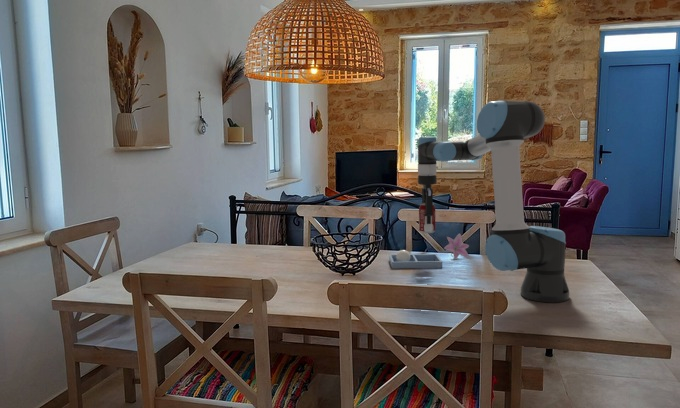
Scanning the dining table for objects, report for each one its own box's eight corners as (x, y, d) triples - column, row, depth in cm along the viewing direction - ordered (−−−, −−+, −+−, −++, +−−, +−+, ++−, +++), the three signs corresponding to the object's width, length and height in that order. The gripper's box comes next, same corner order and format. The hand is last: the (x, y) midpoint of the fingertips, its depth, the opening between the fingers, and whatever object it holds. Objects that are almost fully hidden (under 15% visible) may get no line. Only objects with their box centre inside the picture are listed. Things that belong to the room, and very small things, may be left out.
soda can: (435, 233, 214) (435, 204, 213) (418, 233, 215) (418, 204, 214) (435, 230, 221) (435, 202, 219) (419, 230, 222) (419, 202, 220)
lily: (439, 261, 230) (447, 244, 225) (439, 245, 240) (446, 229, 235) (465, 269, 230) (473, 252, 225) (464, 253, 240) (472, 237, 235)
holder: (442, 268, 213) (442, 261, 213) (392, 269, 213) (391, 262, 213) (436, 260, 226) (436, 254, 226) (389, 261, 227) (389, 254, 226)
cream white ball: (411, 265, 217) (411, 251, 216) (396, 265, 217) (396, 251, 216) (409, 262, 223) (409, 248, 222) (395, 262, 223) (395, 248, 222)
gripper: (440, 176, 205) (440, 234, 208) (432, 172, 225) (432, 225, 228) (421, 176, 205) (421, 234, 208) (415, 173, 225) (415, 226, 228)
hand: (427, 229), depth 218 cm, fingers closed on soda can, 7 cm apart
